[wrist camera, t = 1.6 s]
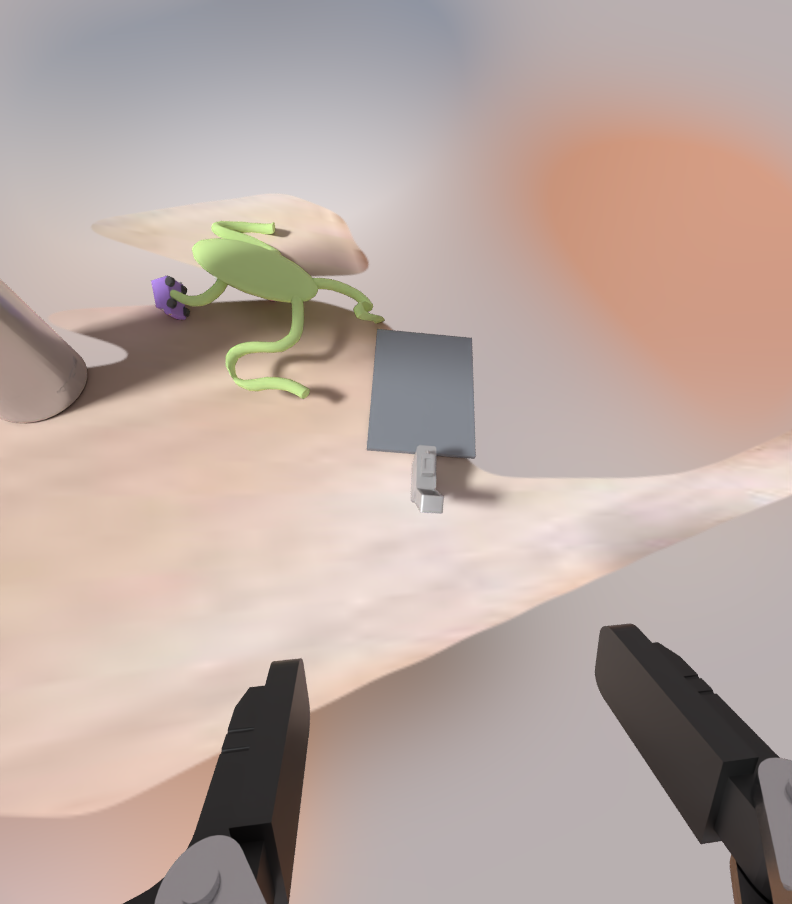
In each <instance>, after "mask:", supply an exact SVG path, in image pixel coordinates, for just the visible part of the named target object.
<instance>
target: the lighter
mask: <svg viewBox="0 0 792 904" xmlns="http://www.w3.org/2000/svg"><path fill="white" fill-rule="evenodd" d="M435 489H436V447H435V446H424V445H419V446H418V447H417V450H416V453H415V456H414V459H413V462H412V476H411V501H412V502H414V503H415V504H416V506H417V507H418V509H419V511H420V512H425V513H440V514H441V513H442V512H443V500H444V496H443V495H442V494H441V493H440V492H438V491H437V490H435Z"/></svg>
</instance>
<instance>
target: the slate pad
mask: <svg viewBox="0 0 792 904" xmlns="http://www.w3.org/2000/svg"><path fill="white" fill-rule="evenodd" d="M472 358H473V357H472V338H466V337H455V336H446V335H435V334H424V333H414V332H413V333H412V332H403V331H393V330H382V329H377V339H376V350H375V361H374V373H373V384H372V395H371V407H370V418H369V429H368V441H367V450H371V451H383V452H396V453H409V454H415V453H416V450H417V447H418V446H419V445H424V446H435V447H436V456H447V457H460V458H472V459H474V458H475V455H476V454H475V422H474V391H473V359H472Z"/></svg>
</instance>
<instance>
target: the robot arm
mask: <svg viewBox="0 0 792 904" xmlns="http://www.w3.org/2000/svg"><path fill="white" fill-rule="evenodd" d="M86 380H87V367H86V364H85V362H84V360H83V359H82V357H80V355H79V354H78V353H77V352H75V350H73V349H72V348H71V347H70V346H69V345H68V344H67V343H66V342H65V341H64V340H63V339H62V338H61V337H60V336H59V335H58V334H57V333H56V332H55V331H54V330H53V329H52V328H51V327H50V326H49V325H48V324H47V323H46V322H45V321H44V320H42V318H41V317H40V316H38V315H37V314H36V313H35V312H34V311H33V310H32V309H31V308H30V307H29V306H28V305H27V304H26V303H25V302H24V301H23V300H22V299H21V298H20V297H19V296H18V295H17V294H16V293H15V292H14V291H12V290H11V289H10V288H9V287H8V286H7V285H6V284H5V283H4V282H3V281H2V280H1V279H0V418H1V419H3V420H7V421H10V422H16V423H29V422H36V421H40V420H44V419H47V418H49V417H52V416H54V415H56V414H58V413H60V412H61V411H63V410H65V409H66V408H67V407H68V406H70V405H71V404H72V403H73V402H74V401H75V400H76V399H77V398H78V396H79V395H80V394H81V392H82V390H83V389H84V387H85V384H86ZM595 677H596V682H597V685H598V688H599V691H600V693H601V695H602V696H603V698H604V700H605V701H606V703H607V704H608V705H609V707H610V709H611V710H612V712H613V713H614V715H615V716H616V717H617V719H618V720H619V722H620V724H621V725H622V727H623V728H624V730H625V731H626V733H627V734H628V736H629V737H630V739H631V740H632V742H633V743H634V745H635V746H636V748H637V749H638V751H639V752H640V754H641V755H642V757H643V758H644V759H645V761H646V763H647V764H648V766H649V767H650V769H651V770H652V772H653V773H654V775H655V776H656V778H657V779H658V781H659V782H660V783H661V785H662V787H663V788H664V790H665V791H666V793H667V794H668V796H669V797H670V799H671V800H672V802H673V803H674V805H675V806H676V808H677V809H678V811H679V812H680V814H681V815H682V817H683V818H684V820H685V821H686V823H687V824H688V826H689V827H690V829H691V830H692V832H693V833H694V835H695V836H696V838H697V839H698V841H699V842H700V844H705V843H712V842H718V841H722V842H723V843H724V845H725V846H726V847H727V849H728V850H729V852H730V853H731V858H730V873H731V882H732V889H733V898H734V904H792V761H791V760H788V759H783V758H780V757H779V756H778V755H777V754H775V753H774V752H773V751H772V750H771V749H770V747H769V746H768V745H767V744H766V743H765V742H764V741H763V740H762V739H761V738H760V737H758V735H757V734H756V733H755V732H754V731H753V730H752V729H751V728H750V727H749V726H748V725H747V724H746V723H745V722H744V721H743V720H742V719H741V718H740V717H739V716H738V715H737V714H736V713H735V712H734V711H733V710H732V709H731V708H730V707H729V706H728V705H727V704H726V703H725V702H724V701H723V700H722V699H721V698H720V697H719V696H718V695H717V694H714V693H713V690H712V689H711V687H709V685H708V684H707V683H706V682H705V681H704V680H702V678H699V677H698V674H697V673H696V672H695V671H694V670H693V669H692V668H691V667H690V666H689V665H688V664H687V663H686V662H685V661H684V660H683V659H682V658H681V657H680V656H678V655H677V654H675V653H674V652H672V651H671V650H669V649H668V648H666V647H664V646H663V645H661V644H660V643H658V642H656V643H652V642H651V641H650V640H649V639H648V638H647V637H646V636H645V635H644V634H643V633H642V632H641V631H640V629H639V628H637V627H636V626H635V625H633V624H622V625H613V626H604V627H602V628H601V630H600V635H599V642H598V651H597V658H596V666H595ZM309 726H310V706H309V698H308V691H307V684H306V677H305V671H304V664H303V660H302V659H292V660H282V661H273V662H272V663H271V665H270V669H269V673H268V677H267V680H266V684H265V686H258V687H250V688H249V689H248V690H247V692H246V693H245V694H244V696H243V697H242V699H241V700H240V701H239V703H238V704H237V705H236V707H235V709H234V712H233V715H232V718H231V721H230V724H229V727H228V733H227V734H226V737H225V740H224V743H223V746H222V752H221V754H220V755H219V758H218V762H217V765H216V768H215V771H214V774H213V777H212V780H211V783H210V786H209V790H208V793H207V796H206V799H205V803H204V805H203V808H202V811H201V814H200V818H199V821H198V824H197V827H196V830H195V833H194V835H193V838H192V840H191V842H190V844H189V846H188V848H187V850H186V851H185V852H184V853H183V854H182V855H181V856H180V857H179V858H178V859H177V860H176V861H175V863H174V864H173V865H172V867H171V868H170V869H169V871H168V872H167V874H166V876H165V877H164V878H163V879H162V880H161V881H159V882H158V883H157V884H156V885H154V886H153V887H152V888H150V889H149V890H147V891H145V892H144V893H142V894H140V895H139V896H137V897H135V898H133V899H131V900H129V901H127V902H125V903H123V904H289V897H290V889H291V880H292V872H293V863H294V855H295V847H296V838H297V830H298V821H299V813H300V804H301V796H302V787H303V779H304V771H305V762H306V754H307V745H308V737H309Z"/></svg>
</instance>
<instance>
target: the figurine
mask: <svg viewBox="0 0 792 904" xmlns="http://www.w3.org/2000/svg"><path fill="white" fill-rule="evenodd" d="M211 228H212V231H213V232H214V234H216V235H217V236H219V237H221V238H224V239H221V238H216V239H206V240H201V241H199V242H197V243H196V244H195V245H194V246H193V248H192V252H193V255H194V259H195V260H196V261H197V262H198V263H199V264H200V265H201V266H202V268H203V269H205V270H206V271H207V272H209V273H210V274H212V275H213V276H214V278H215V279H216V280H217V281H216V283H215V284H214V285H213V286H212V287H211V288H210V289H208V290H207V291H206V292H204V293H203V294H200V295H197V296H188V295H185V294H186V293H187V288H186V287H185V286H183V284H182V283H181V282H177V281H175V279H174V278H172V277H170V276H164V277H161V278H158V279H155V280H152V281H151V282H152V288H153V293H154V298H155V304H156V307H157V308H159V309H161V310H163V311H164V312H165V314H167V315H169V316H171V317H173V318H176V319H178V320H185V319H186V317H188V316H189V314H190V311H189V309H187V308H185V305H189V306H204V305H207V304H209V303H211V302H213V301H214V300H215V299H217V298H218V297H219V296H220V295H221V294H222V293H223V292H224V291H225V289H226V287H227V285H230V286H232V287H234V288H236V289H238V290H240V291H243V292H245V293H248V294H251V295H254V296H257V297H261V298H264V299H267V300H270V301H273V302H275V301H281V302H288V303H292V326H291V330H290V332H289V334H288V335H287V336H286V337H284V338H283V339H281V340H279V341H276V342H245V343H241V344H238V345H236V346H234V347H232V348H230V350H229V352H228V353H227V355H226V367H227V369H228V371H229V374H230V375H231V377H232V378H233V380H234V381H235V383H236V384H237V385H238V386H240V387H242V388H244V389H247V390H249V391H261V390H267V389H278V390H284V391H288V392H291V393H293V394H295V395H297V396H299V397H300V398H302V399H304V398H306V397H307V396H308V395H309V392H310V390H309V389H308V388H307V387H305V386H303V385H301V384H300V383H297V382H295V381H293V380H290V379H286V378H280V377H264V378H259V379H251V380H242V379H240V378H237V375H236V372H235V364H236V362H237V360H238V358H240V357H242V356H244V355H246V354H250V353H259V352H267V353H275V352H283V351H285V350H287V349H289V348H291V347H292V346H293V345H295V344H296V343H297V342H298V341H299V340H300V337H301V334H302V331H303V323H304V308H303V302H304V301H309V300H310V299H311V298H313V297H314V296H315V295H316V294H317V292H318V289H327V290H333V291H336V292H339V293H342V294H344V295H347V296H349V297H351V298H353V299H355V300H356V301H357V302H358V304H357V305H356V306H355V307H354V309H353V310H354V313H355V315H356V317H357V318H359V319H361V320H367V321H374V322H375V324H376V323H379V322H384V321H385V320H384V318H383V317H381V316H378V315H373V314H370V313H368V312H369V311H371V310H372V308H373V304H372V303H371V302H370V300H369V299H368V298H367V297H366V296H365V295H364V294H363V293H361V292H360V291H358V290H357V289H355V288H353V287H351V286H349V285H347V284H344V283H342V282H339V281H336V280H332V279H325V278H312V277H311V276H310V275H309V274H308V273H307V272H305V271H304V270H303V269H302V268H301V267H300V266H299V265H297V264H296V263H294V262H292V261H290V260H289V259H287V258H285V257H284V256H282V255H281V253H280V251H278V250H277V249H275V248H273V247H271V246H269V245H267V244H265V243H263V242H262V241H260V240H258V239H256V238H254V237H251V236H248V235H246V234H243V233H239V232H254V233H262V234H272V233H274V232H275V223H274V222H273V223H272V224H261V223H248V222H230V221H220V222H215V223H213V225H212V227H211Z"/></svg>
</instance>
